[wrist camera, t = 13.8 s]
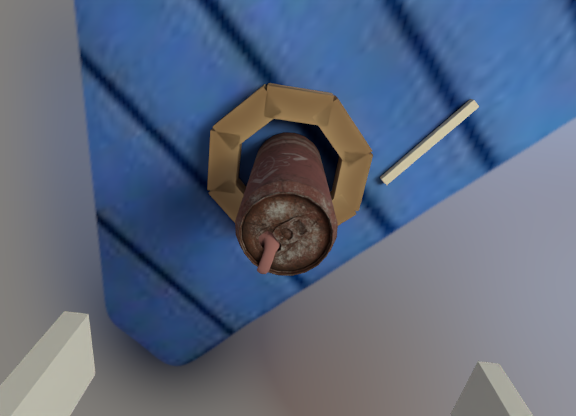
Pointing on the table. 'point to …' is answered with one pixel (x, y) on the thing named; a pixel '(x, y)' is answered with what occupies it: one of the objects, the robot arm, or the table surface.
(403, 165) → the straight beige square stick
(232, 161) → the wooden ring
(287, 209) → the can
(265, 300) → the table surface
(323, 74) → the table surface
